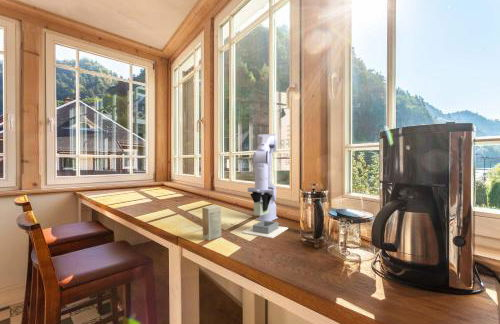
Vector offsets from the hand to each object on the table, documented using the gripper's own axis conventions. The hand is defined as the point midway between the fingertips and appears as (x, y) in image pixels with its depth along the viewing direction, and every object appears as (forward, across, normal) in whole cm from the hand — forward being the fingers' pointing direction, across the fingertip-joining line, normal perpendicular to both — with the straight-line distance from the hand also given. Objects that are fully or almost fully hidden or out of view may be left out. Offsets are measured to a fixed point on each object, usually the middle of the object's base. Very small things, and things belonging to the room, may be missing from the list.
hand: (261, 209), depth 110 cm
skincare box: (+9, -8, -21) cm, 24 cm away
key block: (+2, 0, 0) cm, 2 cm away
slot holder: (+9, +2, 0) cm, 9 cm away
